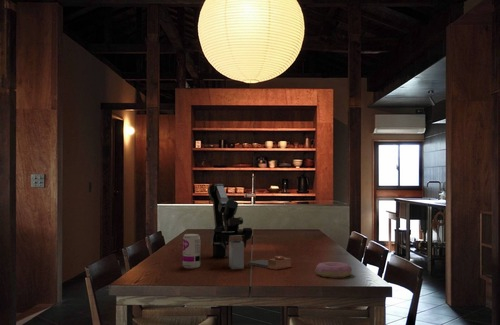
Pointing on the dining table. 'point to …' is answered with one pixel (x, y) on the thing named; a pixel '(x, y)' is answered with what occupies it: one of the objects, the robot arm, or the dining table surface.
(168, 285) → the dining table surface
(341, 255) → the dining table surface
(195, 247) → the supplement can
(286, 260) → the block
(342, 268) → the donut
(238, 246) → the lock block
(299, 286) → the dining table surface
